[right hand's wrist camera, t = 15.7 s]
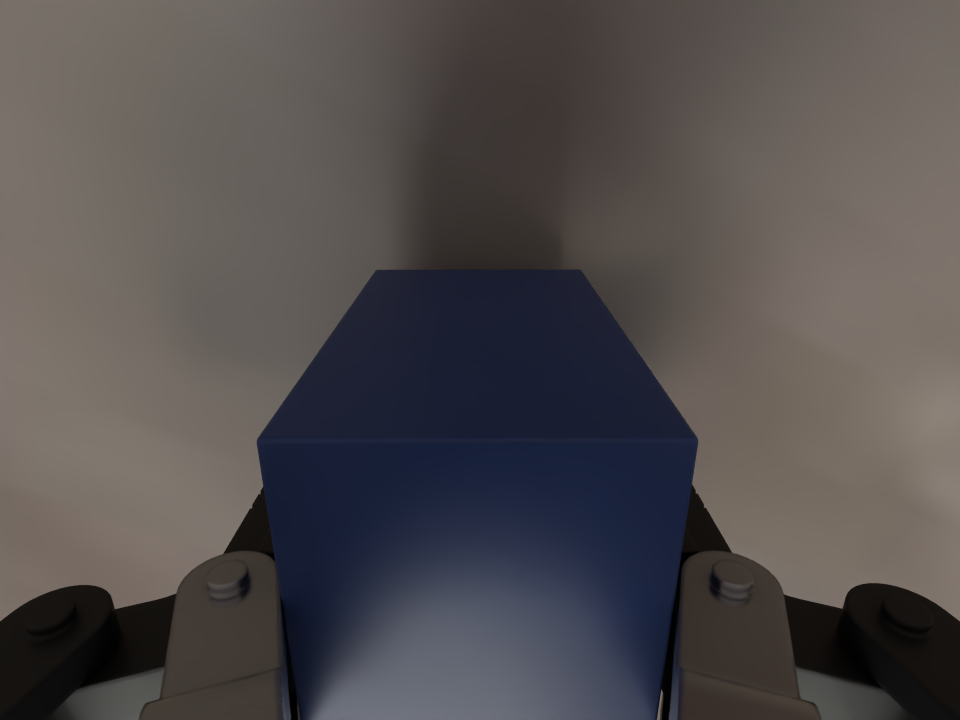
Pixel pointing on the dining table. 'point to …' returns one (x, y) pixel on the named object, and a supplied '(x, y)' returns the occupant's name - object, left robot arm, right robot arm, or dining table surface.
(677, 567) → the bar
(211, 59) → the dining table surface
